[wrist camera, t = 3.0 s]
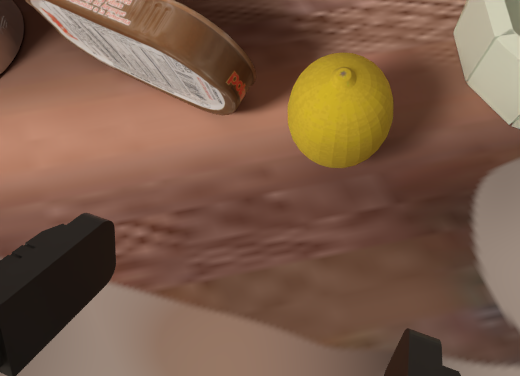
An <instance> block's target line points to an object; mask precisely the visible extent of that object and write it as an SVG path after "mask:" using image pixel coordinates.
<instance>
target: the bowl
mask: <svg viewBox="0 0 520 376" xmlns="http://www.w3.org/2000/svg"><path fill="white" fill-rule="evenodd" d="M454 37H455V41H456V45H457V49H458V53H459V57H460V61H461V65H462V69H463V73H464V77H465V81H468V82H467V84H468V85H469V86H470V87H471V88H472V89H473V90H474V91H475V92H476V93H477V94H478V95H479V96H480V97H481V98H482V99H483V100H484V101H485V102H486V103H487V104H488V105H489V106H490V107H491V108H492V109H493V110H494V111H495V112H496V113H497V114H498V115H500V116H501V117H502V118H503V119H504V120H505V121H506V122H507V123H508V124H509V125H510V124H511V123H512V127H515V128H518V129H520V0H467V1H466V3H465V5H464V8H463V10H462V13H461V15H460V17H459V20H458V22H457V25H456V27H455V29H454Z"/></svg>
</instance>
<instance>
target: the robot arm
mask: <svg viewBox="0 0 520 376" xmlns="http://www.w3.org/2000/svg"><path fill="white" fill-rule="evenodd" d="M23 33H24V22H23V16H22V14H21V12H20V9H19V8H18V6H17V5H16V4H15V3H14V2H13V1H12V0H0V74H1V73H2V72H3V71H4V70H5V69H6V68H7V67H8V66H9V64H10V63H11V62H12V61H13V59H14V58H15V56H16V54H17V52H18V50H19V48H20V45H21V42H22V39H23ZM115 266H116V255H115V229H114V224H113V222H111V221H109V220H106V219H104V218H101V217H98V216H95V215H92V214H90V213H83V214H81V215H80V216H78V217H77V218H76V219H74V220H73V221H71V222H70V223H69V224H67V225H64V224H61V225H58V226H55V227H53V228H50V229H47V230H45V231H42V232H41V233H39V234H38V235H36V236H35V237H33V238H32V239H30V240H29V241H28V242H26V243H25V245H24V246H23V245H22V246H20V247H19V248H18V249H16V250H15V251H13V252H12V254H11V255H8V256H6V257H5V258H3V259H2V260H0V372H1V373H3V374H5V375H7V376H16V375H17V374H18V373H19V372H20V371H21V370H22V369H23V368H24V367H25V366H26V365H27V364H28V363H29V362H30V361H31V360H32V359H33V358H34V357H35V356H36V355H37V354H38V353H39V352H40V351H41V350H42V349H43V348H44V347H45V346H46V345H47V344H48V343H49V342H50V341H51V340H52V339H53V338H54V337H55V336H56V335H57V334H58V333H59V332H60V331H61V330H62V329H63V328H64V327H65V326H66V325H67V324H68V323H69V322H70V321H71V320H72V319H73V318H74V317H75V315H77V314H78V313H79V312H80V311H81V310H82V309H83V308H84V307H85V306H86V305H87V304H88V303H89V302H90V301H91V300H92V299H93V298H94V297H95V296H96V295H97V294H98V293H99V291H101V290H102V289H103V288H104V287H105V286H106V285H107V283H108V282H109V281H110V279H111V277H112V275H113V273H114V270H115ZM384 376H461V375H460V373H459V372H458V371H456V370H453V369H450V368H448V367H445V366H442V346H441V342H440V340H439V339H436V338H433V337H430V336H428V335H425V334H422V333H419V332H416V331H414V330H411V329H408V328H407V329H406V330H405V331H404V333H403V335H402V337H401V339H400V341H399V343H398V346H397V348H396V350H395V352H394V354H393V356H392V358H391V360H390V362H389V364H388V366H387V369H386V371H385V374H384Z"/></svg>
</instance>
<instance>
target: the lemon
mask: <svg viewBox="0 0 520 376" xmlns="http://www.w3.org/2000/svg"><path fill="white" fill-rule="evenodd" d="M392 120H393V96H392V92H391V88H390V85H389V82H388V81H387V79H386V77H385V75H384V74H383V72H382V71H381V70H380V69H379V68H378V67H377V66H376V65H375V64H374V63H373V62H371V61H370V60H368V59H366V58H365V57H363V56H359V55H356V54H353V53H335V54H330V55H327V56H324V57H321V58H319V59H318V60H316V61H314V62H313V63H311V64H310V65H309V66H308V67H307V68H306V69H305V70H304V71H303V72H302V73H301V74H300V76H299V78H298V79H297V81H296V83H295V85H294V86H293V89H292V91H291V95H290V99H289V103H288V125H289V129H290V132H291V135H292V138H293V140H294V142H295V143H296V145H297V146H298V148H299V149H300V151H301V152H302V153H303V154H304V155H306V156H307V157H308V158H309V159H310V160H312V161H314V162H316V163H317V164H319V165H322V166H326V167H330V168H345V167H350V166H354V165H357V164H359V163H361V162H363V161H365V160H367V159H368V158H369V157H370V156H371V155H373V154H374V153H375V152H376V151H377V150H378V149H379V148H380V146H381V145H382V143H383V142H384V140H385V139H386V137H387V135H388V133H389V130H390V127H391V124H392Z"/></svg>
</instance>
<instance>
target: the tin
mask: <svg viewBox="0 0 520 376" xmlns="http://www.w3.org/2000/svg"><path fill="white" fill-rule="evenodd" d="M25 1H26V2H27V3H28V4H29V5H31V6H33V7H34V8H35V9H36V10H37V11H38V12H39V13H40V14H41V15H42V16H43V17H44V18H45V19H46V20H47V21H48V22H49V23H50V24H51V25H53V26H54V28H55V29H56V30H57V31H58V32H59V33H60V34H61V35H62V36H63V37H64V38H65V39H66V40H68V41H69V42H71V43H72V44H73V45H75V46H76V47H78V48H79V49H81V50H82V51H84V52H85V53H87V54H88V55H90V56H92V57H93V58H95V59H97V60H98V61H100V62H102V63H104V64H106V65H108V66H110V67H111V68H114V69H116V70H118V71H120V72H122V73H124V74H126V75H128V76H130V77H132V78H134V79H136V80H138V81H140V82H143V83H145V84H147V85H149V86H151V87H153V88H155V89H157V90H159V91H162V92H164V93H166V94H168V95H170V96H172V97H175V98H177V99H179V100H181V101H183V102H185V103H188V104H190V105H192V106H194V107H197V108H199V109H202V110H204V111H207V112H210V113H213V114H218V115H229V114H232V113H233V112H234V111H235V110H236V109H237V108H238V106H239V104H240V103H241V101H242V100H243V98H244V96H245V94H246V92H247V91H248V89H249V87H250V86H251V85H252V84H253V83H254V82H255V80H256V71H255V68H254V66H253V64H252V62H251V61H250V59H249V57H248V56H247V55H246V54H245V52H244V51H243V50H242V49H241V48H240V47H239V45H238V44H237V43H236V42H235V41H234V40H233V39H232V38H231V37H230V36H229V35H227V34H226V33H225V32H224V31H223V30H222V29H220V28H219V27H218V26H216V25H215V24H214V23H212V22H211V21H209V20H208V19H207V18H205V17H204V16H202V15H201V14H199V13H197V12H196V11H194V10H193V9H191V8H189V7H187V6H185V5H183V4H181V3H179V2H177V1H175V0H25Z"/></svg>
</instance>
